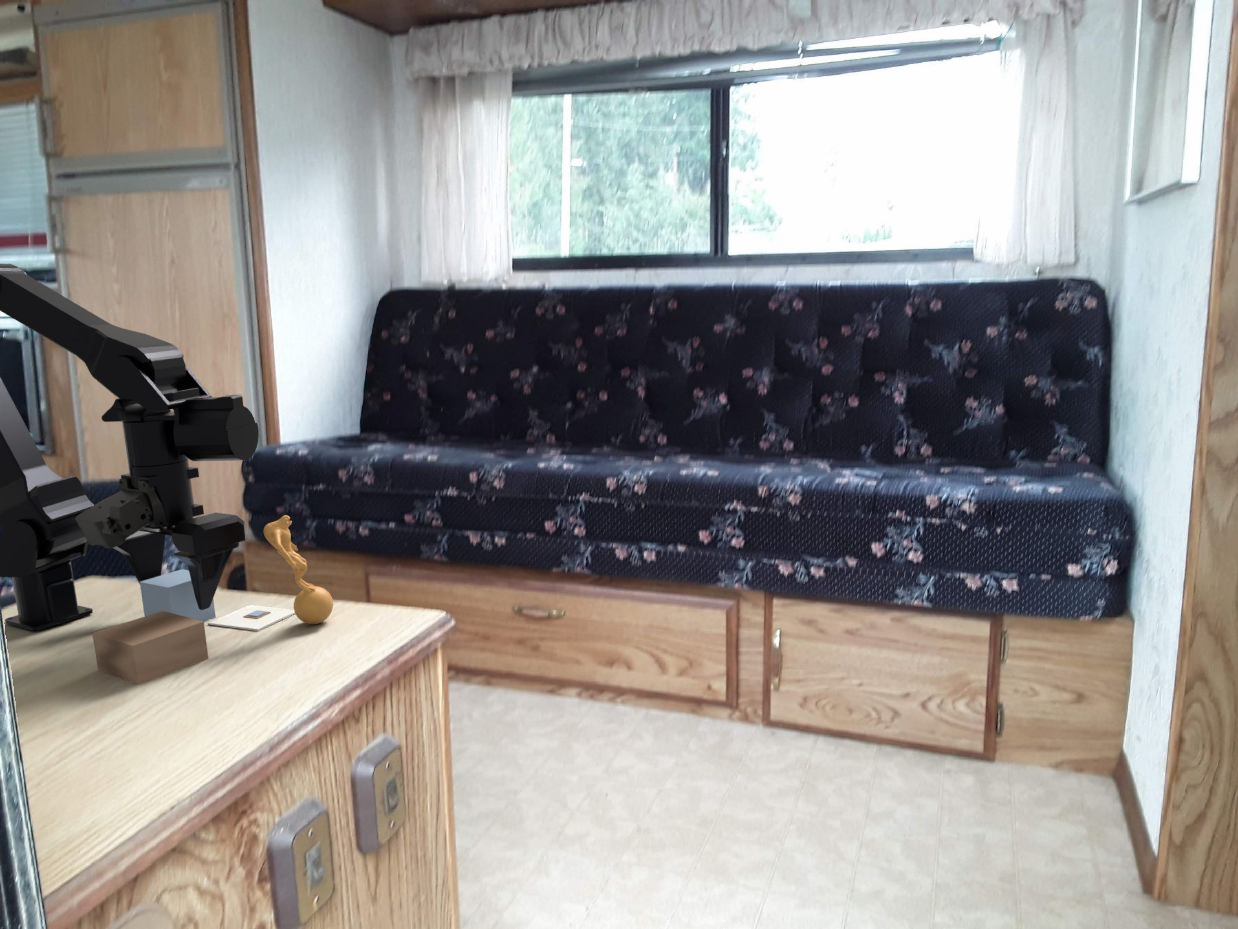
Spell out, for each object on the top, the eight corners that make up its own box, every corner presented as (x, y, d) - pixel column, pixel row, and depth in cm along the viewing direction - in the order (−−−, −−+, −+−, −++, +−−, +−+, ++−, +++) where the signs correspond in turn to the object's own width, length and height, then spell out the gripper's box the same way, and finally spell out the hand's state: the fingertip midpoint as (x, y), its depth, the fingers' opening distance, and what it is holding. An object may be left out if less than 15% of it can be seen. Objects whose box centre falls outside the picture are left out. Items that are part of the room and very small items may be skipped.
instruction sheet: (208, 624, 101) (207, 621, 101) (249, 606, 106) (249, 603, 106) (258, 631, 98) (257, 627, 98) (298, 612, 103) (298, 608, 103)
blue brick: (146, 626, 102) (139, 581, 101) (187, 612, 106) (181, 569, 105) (174, 633, 99) (168, 587, 98) (215, 618, 103) (210, 574, 102)
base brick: (98, 673, 89) (92, 633, 89) (168, 648, 95) (162, 610, 94) (138, 687, 85) (132, 645, 85) (208, 660, 91) (203, 621, 90)
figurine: (337, 632, 96) (324, 519, 94) (275, 642, 94) (261, 526, 92) (332, 608, 104) (321, 503, 102) (275, 617, 102) (262, 509, 100)
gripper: (31, 471, 97) (55, 614, 100) (138, 482, 88) (161, 641, 90) (133, 452, 107) (152, 584, 109) (240, 461, 97) (258, 606, 100)
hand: (177, 603), depth 102 cm, fingers open, 9 cm apart
